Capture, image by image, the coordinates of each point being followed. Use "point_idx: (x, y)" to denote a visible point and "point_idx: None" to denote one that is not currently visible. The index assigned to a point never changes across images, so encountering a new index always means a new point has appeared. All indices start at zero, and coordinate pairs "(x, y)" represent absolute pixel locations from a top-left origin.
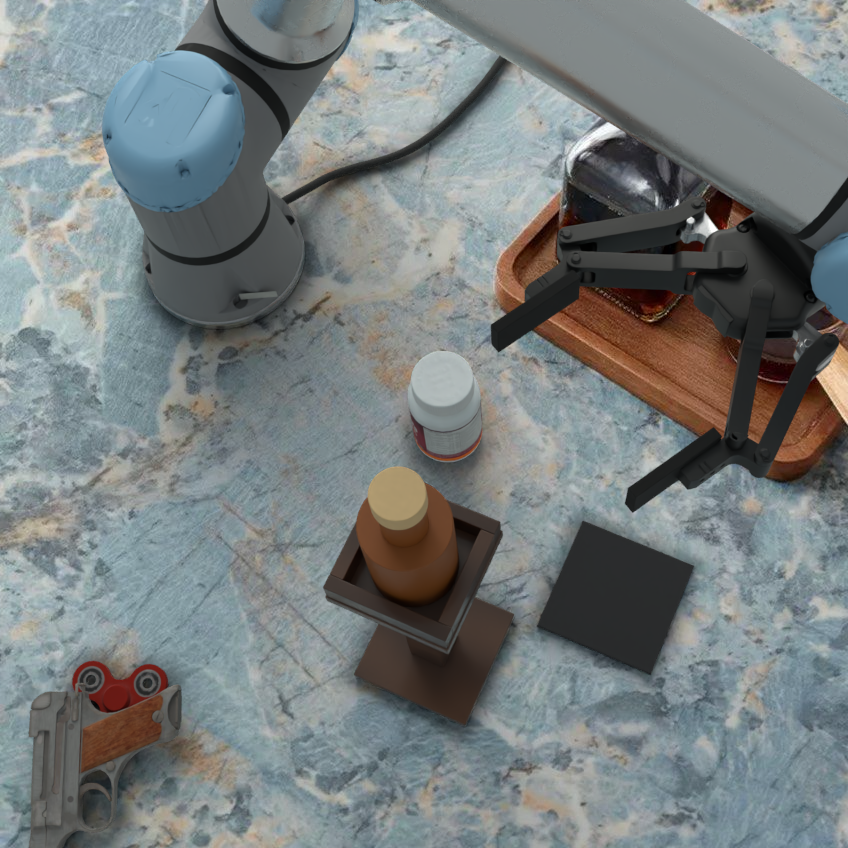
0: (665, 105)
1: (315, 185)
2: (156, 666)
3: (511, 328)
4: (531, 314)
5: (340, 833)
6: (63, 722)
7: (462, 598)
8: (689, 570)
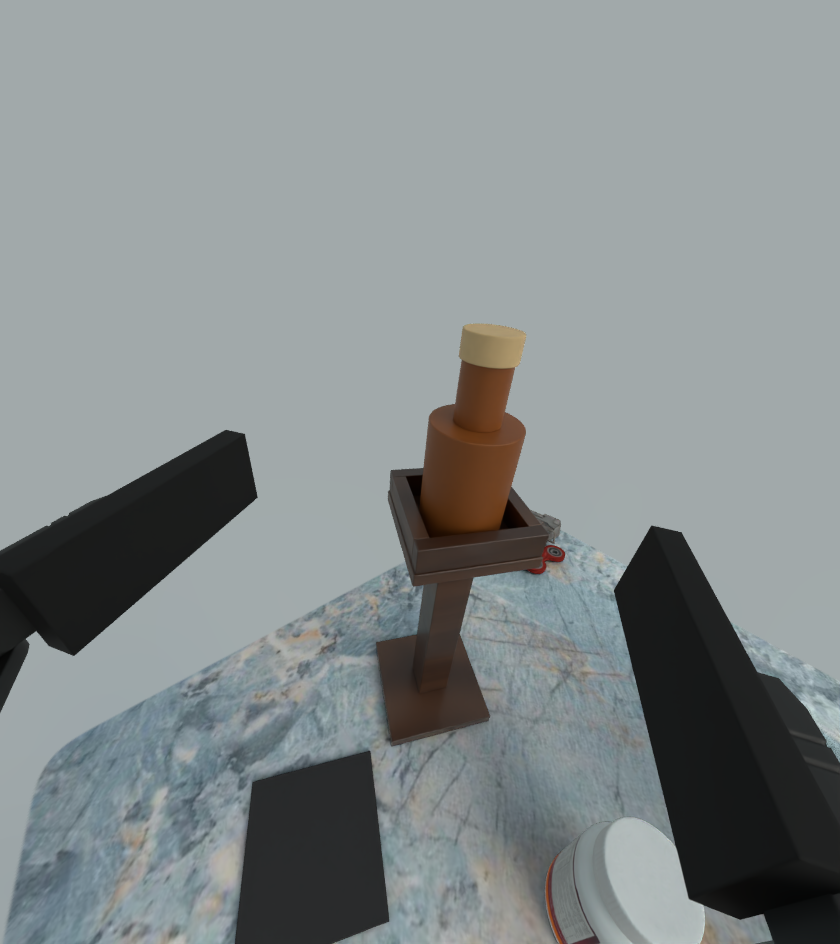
0: None
1: None
2: (540, 570)
3: (652, 567)
4: (674, 615)
5: (402, 566)
6: (541, 523)
7: (400, 491)
8: None
